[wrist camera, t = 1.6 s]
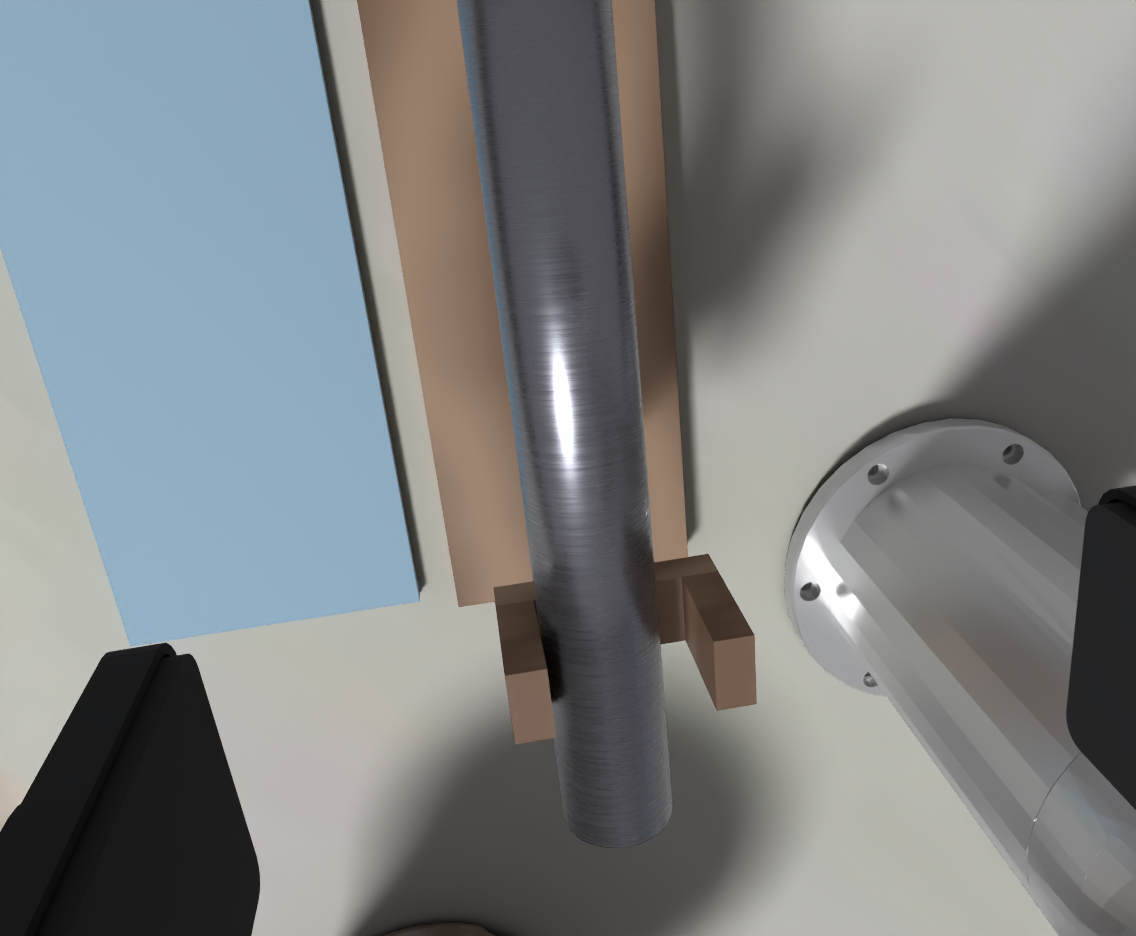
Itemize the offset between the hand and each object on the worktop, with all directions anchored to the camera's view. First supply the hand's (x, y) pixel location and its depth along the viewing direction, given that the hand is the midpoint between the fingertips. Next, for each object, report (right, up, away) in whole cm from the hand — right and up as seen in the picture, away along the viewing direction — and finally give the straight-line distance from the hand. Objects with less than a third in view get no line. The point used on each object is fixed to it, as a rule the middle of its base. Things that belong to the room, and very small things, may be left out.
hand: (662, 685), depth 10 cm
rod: (-1, +6, +13) cm, 14 cm away
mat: (-14, +11, +22) cm, 28 cm away
